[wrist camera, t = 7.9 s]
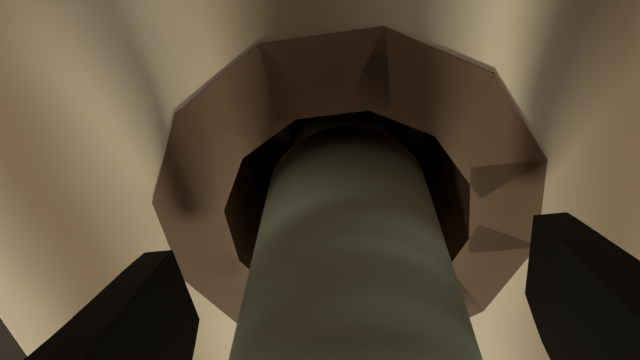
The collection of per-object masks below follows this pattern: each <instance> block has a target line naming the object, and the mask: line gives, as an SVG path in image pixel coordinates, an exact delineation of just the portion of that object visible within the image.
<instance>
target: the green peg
mask: <svg viewBox="0 0 640 360" xmlns="http://www.w3.org/2000/svg"><path fill="white" fill-rule="evenodd" d="M229 360H483V359H482V355H481V352H480V349H479V346H478V343H477V340H476V337H475V333H474V330H473V327H472V324H471V321H470V318H469V315H468V312H467V308H466V305H465V302H464V299H463V296H462V293H461V290H460V287H459V283H458V280H457V277H456V274H455V271H454V268H453V265H452V261H451V258H450V255H449V252H448V249H447V246H446V243H445V240H444V236H443V233H442V230H441V227H440V224H439V221H438V218H437V214H436V211H435V208H434V205H433V202H432V199H431V196H430V193H429V189H428V186H427V183H426V180H425V177H424V174H423V171H422V169H421V167H420V165H419V163H418V161H417V160H416V158H415V157H414V156H413V155H412V153H411V152H410V151H409V150H408V149H407V148H406V147H405V146H403V145H402V144H401V143H400V142H398V140H397V138H396V136H395V135H394V133H393V132H392V130H391V129H390V128H389V127H388V126H387V125H386V124H385V123H384V122H383V121H382V120H380V119H378V118H377V117H375V116H373V115H371V114H369V113H366V112H363V111H360V112H352V113H344V114H336V115H327V116H319V117H316V118H315V119H313V120H311V121H310V122H309V123H308V124H307V125H305V126H304V128H303V129H302V130H301V131H300V132H299V134H298V135H297V137H296V139H295V141H294V144H293V146H292V147H291V148H290V149H288V151H287V152H286V153H285V154H284V155H283V156H282V157H281V159H280V160H279V162H278V163H277V165H276V167H275V169H274V171H273V173H272V177H271V180H270V184H269V188H268V192H267V197H266V201H265V205H264V209H263V214H262V218H261V222H260V227H259V231H258V235H257V239H256V244H255V248H254V252H253V257H252V261H251V265H250V270H249V274H248V278H247V282H246V287H245V291H244V295H243V300H242V304H241V308H240V313H239V317H238V321H237V325H236V330H235V334H234V338H233V343H232V347H231V351H230V356H229Z"/></svg>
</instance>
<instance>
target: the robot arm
mask: <svg viewBox="0 0 640 360" xmlns="http://www.w3.org/2000/svg"><path fill="white" fill-rule="evenodd" d="M525 295H526V298H527V301H528V304H529V307H530V310H531V313H532V316H533V319H534V322H535V325H536V327H537V330H538V333H539V336H540V338H541V341H542V343H543V345H544V348H545V350H546V352H547V354H548V356H549V358H550V360H640V260H638V259H637V258H635V257H634V256H632V255H631V254H629V253H628V252H626V251H625V250H623V249H622V248H620V247H619V246H617V245H616V244H614V243H613V242H611V241H610V240H608V239H607V238H605V237H604V236H602V235H601V234H600V233H598V232H597V231H595V230H594V229H592V228H591V227H589V226H588V225H586V224H585V223H583V222H582V221H580V220H579V219H577V218H575V217H574V216H572V215H571V214H569V213H567V212H563V213H552V214H542V215H533V223H532V233H531V242H530V251H529V260H528V269H527V278H526V288H525ZM199 321H200V319H199V316H198V314H197V311H196V309H195V306H194V304H193V301H192V299H191V296H190V293H189V291H188V288H187V286H186V283H185V281H184V278H183V276H182V273H181V271H180V268H179V265H178V263H177V260H176V258H175V255H174V253H173V250H166V251H155V252H145V253H143V254H142V255H141V256H140V257H138V258H137V259H136V260H135V261H134V262H132V263H131V264H130V265H129V266H128V267H127V268H126V269H125V270H123V271H122V272H121V273H120V274H119V275H118V276H117V277H116V278H115V279H114V280H113V281H111V282H110V283H109V284H108V285H107V286H106V287H105V288H104V289H103V290H102V291H101V292H100V293H98V294H97V295H96V296H95V297H94V298H93V299H92V300H91V301H90V302H89V303H88V304H87V305H85V306H84V307H83V308H82V309H81V310H80V311H79V312H78V313H77V314H76V315H74V316H73V317H72V318H71V319H70V320H69V321H68V322H67V323H66V324H65V325H64V326H62V327H61V328H60V329H59V330H58V331H57V332H56V333H54V334H53V335H52V336H51V337H50V338H49V339H47V340H46V341H45V342H44V343H43V344H42V345H40V346H39V347H38V348H37V349H36V350H35V351H33V352H32V353H31V354H30V355H29V356H28V357H26V358H25V359H24V360H192V359H193V354H194V349H195V344H196V338H197V332H198V326H199Z"/></svg>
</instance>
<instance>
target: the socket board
mask: <svg viewBox="0 0 640 360" xmlns="http://www.w3.org/2000/svg"><path fill="white" fill-rule="evenodd" d="M368 110H369V111H372V112H374V113H377V114H379V115H382V116H384V117H387V118H390V119H392V120H395V121H397V122H400V123H402V124H405V125H407V126H410V127H413V128H415V129H418V130H420V131H423V132H425V133H428V134H430V135H433V136H435V137H436V139H437V140H438V141H439V143H440V144H441V146H442V147H443V174H442V176H441V177H440V179H439V180H438V182H437V184H436V185H435V187H434V188H433V190H432V191H431V193H430V196H431V199H432V202H433V205H434V208H435V211H436V214H437V218H438V221H439V224H440V227H441V230H442V233H443V236H444V240H445V243H446V246H447V249H448V252H449V255H450V258H451V261H452V265H453V268H454V271H455V274H456V277H457V280H458V283H459V287H460V290H461V293H462V296H463V299H464V302H465V305H466V308H467V312H468V315H469V318H470V321H471V324H472V327H473V330H474V333H475V337H476V340H477V343H478V346H479V349H480V352H481V355H482V359H483V360H550V358H549V356H548V354H547V352H546V350H545V348H544V345H543V343H542V341H541V338H540V336H539V333H538V330H537V327H536V325H535V322H534V319H533V316H532V313H531V310H530V307H529V304H528V301H527V298H526V295H525V288H526V278H527V269H528V260H529V251H530V242H531V233H532V223H533V215H542V214H552V213H563V212H567V213H569V214H571V215H572V216H574V217H575V218H577V219H579V220H580V221H582V222H583V223H585V224H586V225H588V226H589V227H591V228H592V229H594V230H595V231H597V232H598V233H600V234H601V235H602V236H604V237H605V238H607V239H608V240H610V241H611V242H613V243H614V244H616V245H617V246H619V247H620V248H622V249H623V250H625V251H626V252H628V253H629V254H631V255H632V256H634V257H635V258H637V259H638V260H640V0H0V318H1V319H2V321H3V322H4V324H5V325H6V327H7V328H8V329H9V331H10V332H11V334H12V335H13V337H14V338H15V339H16V341H17V342H18V344H19V345H20V347H21V348H22V349H23V351H24V352H25V354H26V355H27V357H28V356H29V355H30V354H31V353H32V352H33V351H35V350H36V349H37V348H38V347H39V346H40V345H42V344H43V343H44V342H45V341H46V340H47V339H49V338H50V337H51V336H52V335H53V334H54V333H56V332H57V331H58V330H59V329H60V328H61V327H62V326H64V325H65V324H66V323H67V322H68V321H69V320H70V319H71V318H72V317H73V316H74V315H76V314H77V313H78V312H79V311H80V310H81V309H82V308H83V307H84V306H85V305H87V304H88V303H89V302H90V301H91V300H92V299H93V298H94V297H95V296H96V295H97V294H98V293H100V292H101V291H102V290H103V289H104V288H105V287H106V286H107V285H108V284H109V283H110V282H111V281H113V280H114V279H115V278H116V277H117V276H118V275H119V274H120V273H121V272H122V271H123V270H125V269H126V268H127V267H128V266H129V265H130V264H131V263H132V262H134V261H135V260H136V259H137V258H138V257H140V256H141V255H142V254H143V253H145V252H155V251H166V250H173V253H174V255H175V258H176V260H177V263H178V265H179V268H180V271H181V273H182V276H183V278H184V281H185V283H186V286H187V288H188V291H189V293H190V296H191V299H192V301H193V304H194V306H195V309H196V311H197V314H198V316H199V319H200V321H199V326H198V332H197V338H196V344H195V349H194V354H193V359H192V360H229V356H230V351H231V347H232V343H233V338H234V334H235V330H236V325H237V321H238V317H239V313H240V308H241V304H242V300H243V295H244V291H245V287H246V282H247V278H248V274H249V270H250V265H251V261H252V257H253V252H254V248H255V244H256V239H257V235H258V231H259V227H260V222H261V218H262V214H263V209H264V205H265V201H264V200H263V199H262V198H261V197H260V196H259V195H258V194H257V191H256V188H255V184H254V180H253V176H252V172H251V168H250V164H249V160H248V156H247V155H248V154H249V153H251V152H252V151H253V150H255V149H256V148H257V147H259V146H260V145H262V144H263V143H264V142H266V141H267V140H268V139H270V138H271V137H272V136H274V135H275V134H277V133H278V132H279V131H281V130H282V129H283V128H285V127H286V126H287V125H289V124H290V123H292V122H293V121H294V120H296V119H303V118H311V117H319V116H327V115H336V114H344V113H352V112H360V111H368Z"/></svg>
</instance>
